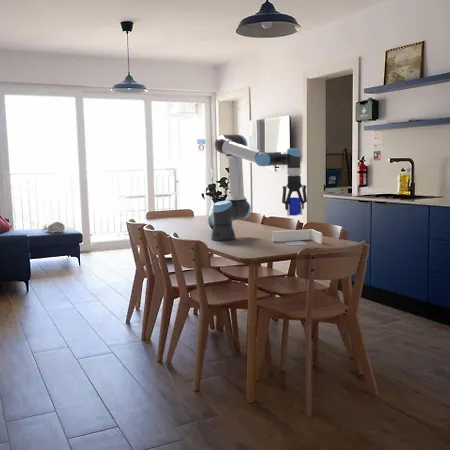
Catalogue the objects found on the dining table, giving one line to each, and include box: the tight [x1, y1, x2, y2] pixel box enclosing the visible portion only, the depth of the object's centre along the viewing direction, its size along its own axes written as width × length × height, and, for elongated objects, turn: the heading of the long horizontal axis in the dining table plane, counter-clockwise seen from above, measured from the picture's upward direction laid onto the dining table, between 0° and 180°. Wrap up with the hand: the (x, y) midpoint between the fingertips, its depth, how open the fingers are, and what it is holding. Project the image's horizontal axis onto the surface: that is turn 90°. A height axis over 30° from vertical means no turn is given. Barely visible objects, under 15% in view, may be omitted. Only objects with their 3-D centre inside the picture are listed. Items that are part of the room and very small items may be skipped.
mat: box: [281, 240, 309, 247], centre depth 308 cm, size 11×15×1 cm
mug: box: [288, 196, 301, 217], centre depth 305 cm, size 8×12×10 cm
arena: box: [271, 228, 323, 245], centre depth 310 cm, size 25×17×6 cm
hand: (294, 215), depth 305 cm, fingers closed on mug, 7 cm apart
